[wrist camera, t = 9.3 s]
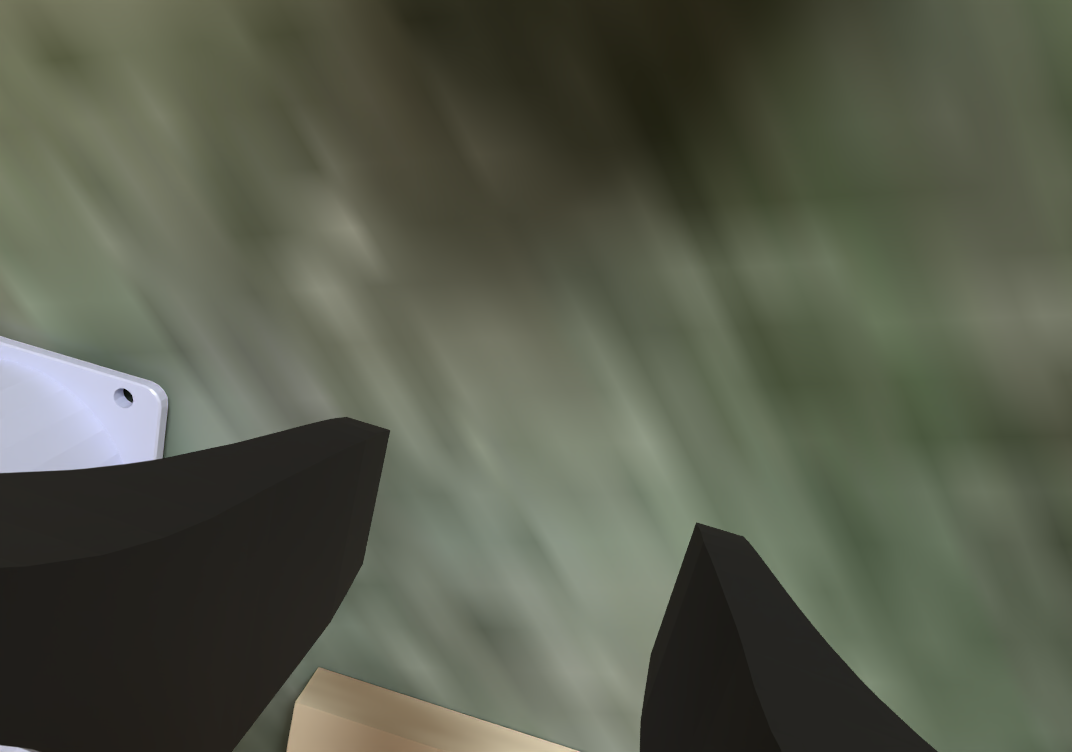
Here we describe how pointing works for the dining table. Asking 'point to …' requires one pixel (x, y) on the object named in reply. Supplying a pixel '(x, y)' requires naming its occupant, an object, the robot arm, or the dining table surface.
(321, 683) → the peg board
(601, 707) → the dining table surface
